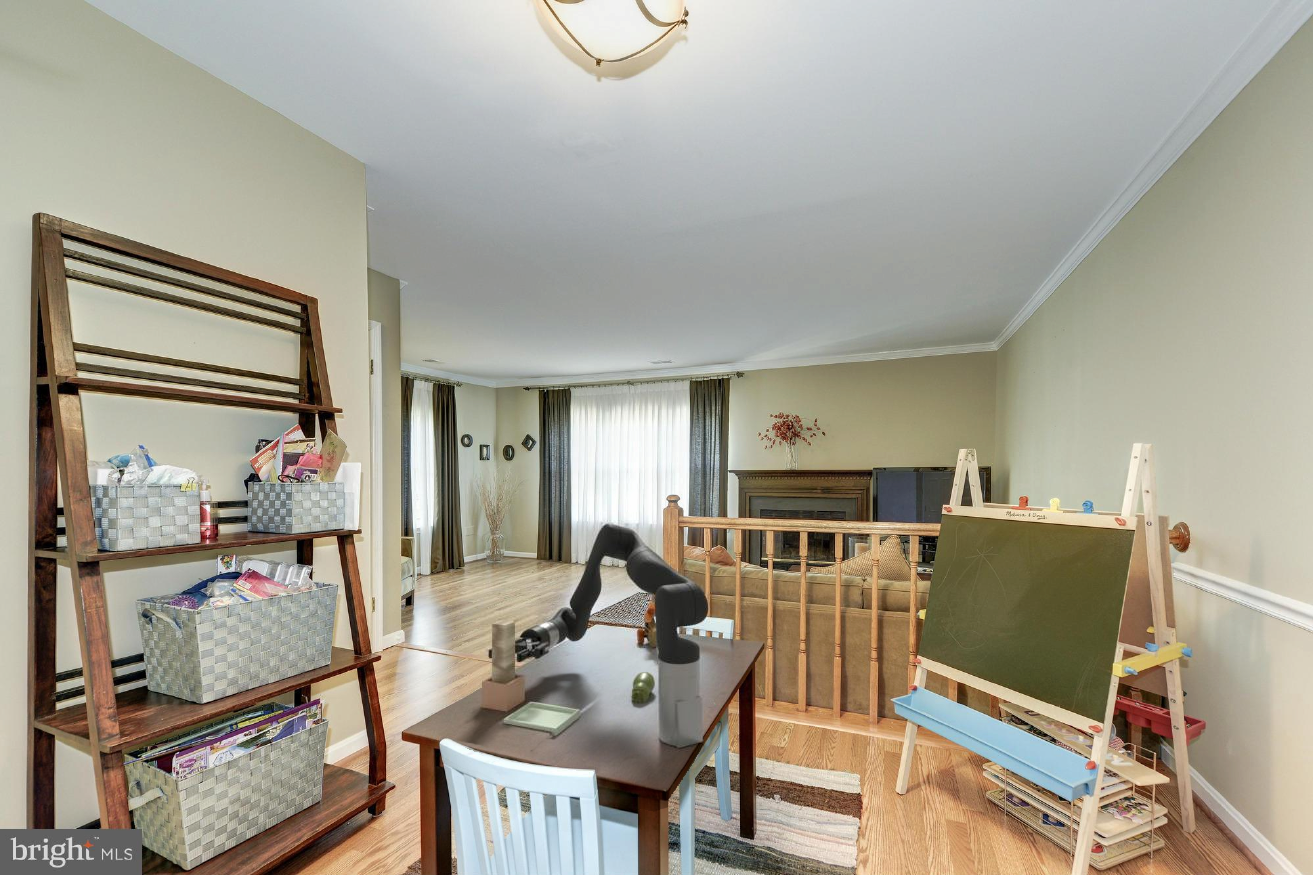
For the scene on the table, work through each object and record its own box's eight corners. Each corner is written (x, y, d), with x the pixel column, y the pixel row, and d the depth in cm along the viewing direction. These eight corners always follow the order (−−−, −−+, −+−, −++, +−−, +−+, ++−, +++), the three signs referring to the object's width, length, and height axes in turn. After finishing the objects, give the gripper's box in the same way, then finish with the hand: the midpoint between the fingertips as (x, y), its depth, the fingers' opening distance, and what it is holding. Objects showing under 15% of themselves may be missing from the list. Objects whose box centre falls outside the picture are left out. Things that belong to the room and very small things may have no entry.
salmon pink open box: (524, 703, 151) (524, 675, 151) (506, 714, 144) (506, 685, 144) (500, 699, 154) (500, 671, 154) (481, 710, 147) (481, 681, 147)
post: (514, 701, 150) (514, 621, 151) (505, 707, 146) (505, 625, 147) (501, 699, 151) (501, 619, 152) (491, 705, 148) (492, 623, 149)
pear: (656, 669, 159) (648, 689, 149) (657, 687, 159) (648, 709, 150) (636, 667, 160) (626, 687, 150) (637, 686, 161) (627, 707, 151)
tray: (580, 716, 143) (580, 709, 143) (555, 735, 132) (555, 728, 132) (530, 708, 148) (530, 701, 148) (503, 726, 138) (503, 719, 138)
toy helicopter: (659, 639, 206) (659, 598, 206) (673, 657, 185) (672, 613, 186) (636, 640, 204) (635, 600, 205) (647, 659, 184) (647, 614, 184)
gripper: (518, 622, 167) (480, 638, 152) (562, 627, 162) (527, 643, 147) (518, 649, 167) (480, 668, 152) (562, 655, 161) (527, 674, 146)
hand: (503, 656), depth 149 cm, fingers open, 8 cm apart
